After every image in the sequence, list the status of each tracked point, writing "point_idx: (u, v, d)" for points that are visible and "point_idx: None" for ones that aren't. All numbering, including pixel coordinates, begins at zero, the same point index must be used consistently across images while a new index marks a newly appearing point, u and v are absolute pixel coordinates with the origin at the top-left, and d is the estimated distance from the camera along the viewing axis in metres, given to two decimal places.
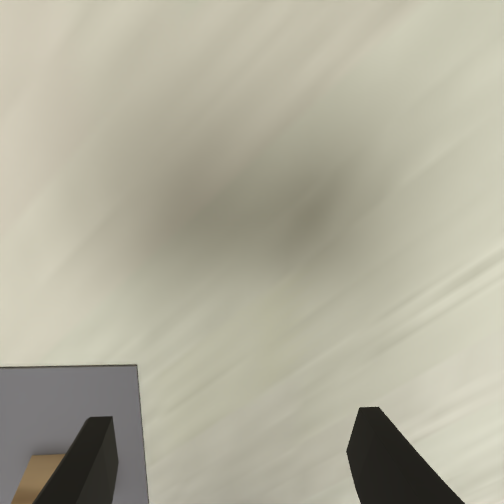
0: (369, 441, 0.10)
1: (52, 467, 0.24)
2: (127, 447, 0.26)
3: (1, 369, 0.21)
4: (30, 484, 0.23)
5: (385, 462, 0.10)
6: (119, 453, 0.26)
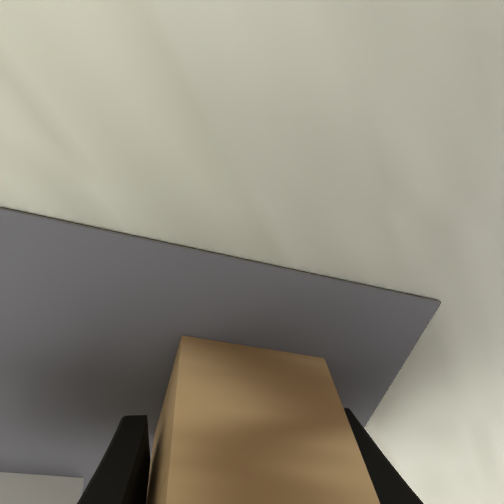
0: None
1: (159, 429, 0.11)
2: (188, 283, 0.10)
3: None
4: (149, 484, 0.11)
5: None
6: (200, 305, 0.10)
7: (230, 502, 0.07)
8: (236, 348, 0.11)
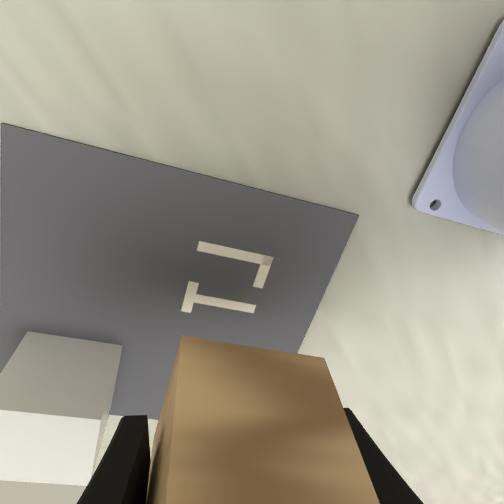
0: None
1: (159, 429, 0.11)
2: (195, 198, 0.16)
3: (0, 288, 0.17)
4: (149, 484, 0.11)
5: None
6: (202, 212, 0.16)
7: (230, 502, 0.07)
8: (236, 348, 0.11)
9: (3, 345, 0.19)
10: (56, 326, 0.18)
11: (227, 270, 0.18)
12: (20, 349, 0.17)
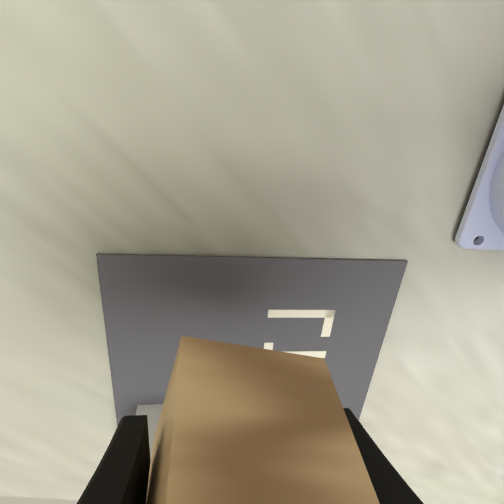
0: None
1: (159, 430, 0.11)
2: (259, 276, 0.19)
3: (111, 376, 0.20)
4: (149, 485, 0.11)
5: None
6: (268, 287, 0.19)
7: (230, 502, 0.07)
8: (236, 348, 0.11)
9: (119, 418, 0.22)
10: (160, 397, 0.22)
11: (296, 328, 0.20)
12: None
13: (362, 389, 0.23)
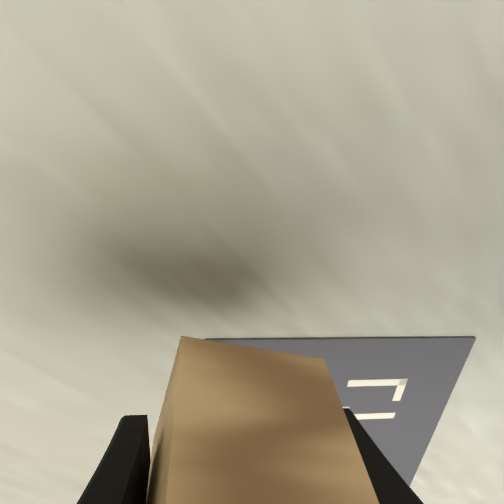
0: None
1: (159, 430, 0.11)
2: (343, 353, 0.21)
3: None
4: (149, 485, 0.11)
5: None
6: (350, 362, 0.21)
7: (230, 503, 0.07)
8: (236, 349, 0.11)
9: None
10: None
11: (371, 393, 0.22)
12: None
13: (423, 443, 0.25)
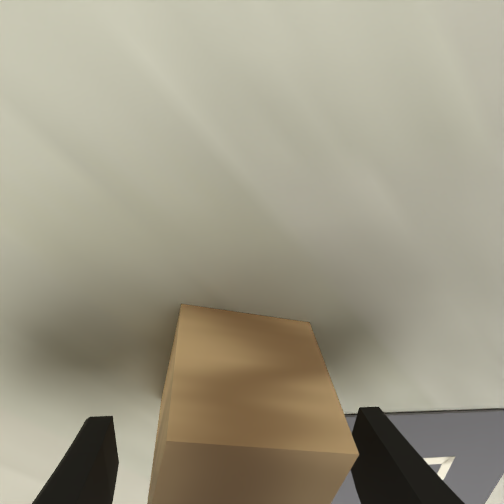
0: (369, 441, 0.10)
1: (165, 387, 0.13)
2: None
3: None
4: (157, 433, 0.12)
5: (385, 462, 0.10)
6: None
7: (221, 424, 0.09)
8: (229, 313, 0.12)
9: None
10: None
11: None
12: None
13: None
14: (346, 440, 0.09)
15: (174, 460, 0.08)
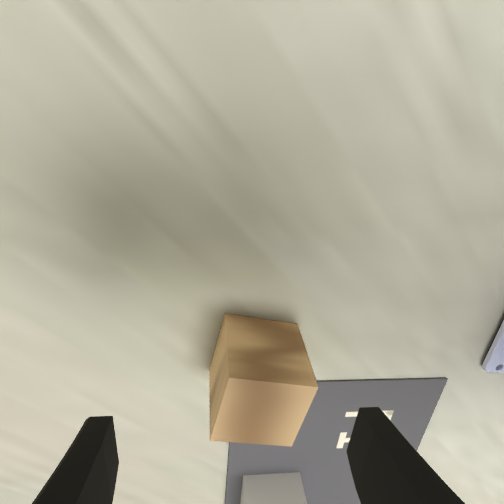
0: (369, 441, 0.10)
1: (214, 360, 0.22)
2: (342, 391, 0.26)
3: (228, 457, 0.28)
4: (211, 385, 0.22)
5: (385, 462, 0.10)
6: (347, 398, 0.26)
7: (252, 372, 0.18)
8: (252, 318, 0.22)
9: (227, 484, 0.30)
10: (260, 470, 0.29)
11: None
12: (247, 491, 0.28)
13: None
14: (312, 381, 0.19)
15: (231, 388, 0.18)
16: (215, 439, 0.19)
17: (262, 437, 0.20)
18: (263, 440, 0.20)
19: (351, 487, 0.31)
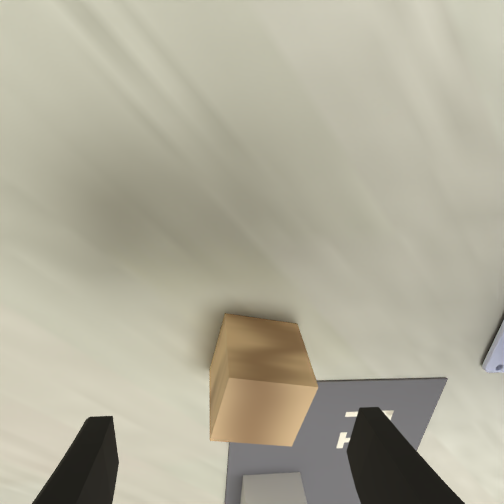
0: (369, 441, 0.10)
1: (214, 360, 0.22)
2: (342, 391, 0.26)
3: (228, 457, 0.28)
4: (211, 385, 0.22)
5: (385, 462, 0.10)
6: (347, 398, 0.26)
7: (252, 372, 0.18)
8: (252, 318, 0.22)
9: (227, 484, 0.30)
10: (260, 470, 0.29)
11: None
12: (247, 491, 0.28)
13: None
14: (312, 381, 0.19)
15: (231, 388, 0.18)
16: (215, 439, 0.19)
17: (262, 437, 0.20)
18: (263, 440, 0.20)
19: (351, 487, 0.31)
